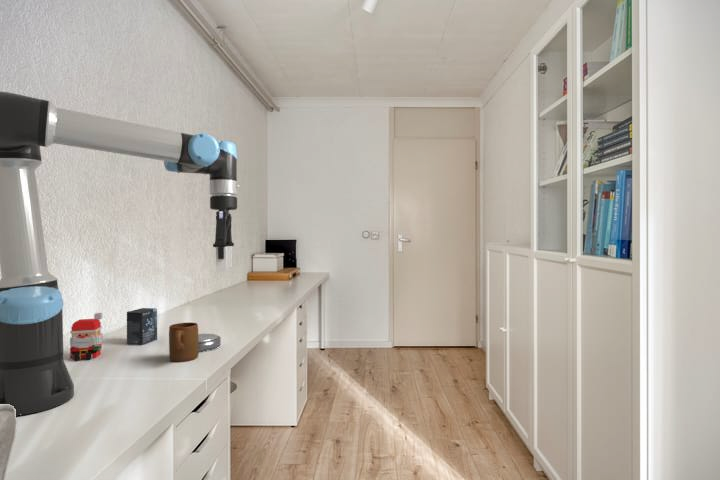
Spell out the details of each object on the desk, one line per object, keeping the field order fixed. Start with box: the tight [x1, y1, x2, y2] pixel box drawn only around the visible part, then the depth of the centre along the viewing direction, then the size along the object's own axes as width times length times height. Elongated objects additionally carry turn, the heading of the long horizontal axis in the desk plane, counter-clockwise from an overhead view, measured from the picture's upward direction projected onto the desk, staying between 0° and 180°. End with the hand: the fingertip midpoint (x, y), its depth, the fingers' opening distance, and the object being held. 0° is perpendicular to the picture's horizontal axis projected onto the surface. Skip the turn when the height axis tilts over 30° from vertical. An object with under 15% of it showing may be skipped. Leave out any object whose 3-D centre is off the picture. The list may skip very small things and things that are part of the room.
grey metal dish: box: [198, 333, 221, 353], centre depth 135 cm, size 12×12×3 cm
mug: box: [168, 322, 200, 363], centre depth 120 cm, size 12×8×9 cm, turn 10°
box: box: [126, 307, 158, 346], centre depth 143 cm, size 8×6×11 cm
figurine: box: [69, 312, 103, 362], centre depth 125 cm, size 8×7×12 cm
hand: (224, 269), depth 127 cm, fingers open, 13 cm apart
